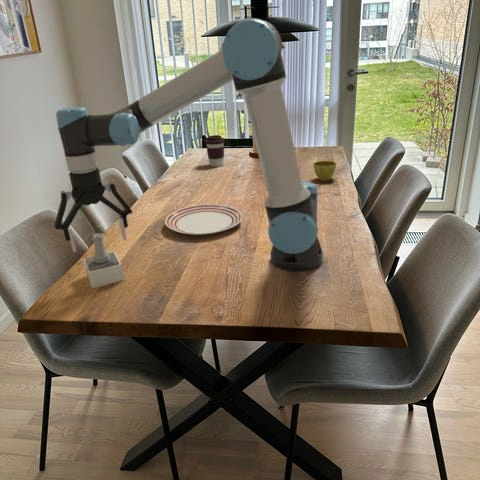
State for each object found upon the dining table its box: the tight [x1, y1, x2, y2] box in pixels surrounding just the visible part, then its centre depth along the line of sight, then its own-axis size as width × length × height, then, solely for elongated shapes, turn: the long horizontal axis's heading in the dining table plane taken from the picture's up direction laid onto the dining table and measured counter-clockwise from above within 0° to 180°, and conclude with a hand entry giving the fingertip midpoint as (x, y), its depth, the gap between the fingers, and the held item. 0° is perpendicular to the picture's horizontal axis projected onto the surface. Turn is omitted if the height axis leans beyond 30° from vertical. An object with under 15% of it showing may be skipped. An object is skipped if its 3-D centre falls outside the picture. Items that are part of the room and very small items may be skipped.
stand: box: [83, 252, 125, 289], centre depth 131 cm, size 9×9×5 cm
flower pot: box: [312, 160, 337, 182], centre depth 205 cm, size 10×10×7 cm
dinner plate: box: [164, 203, 243, 236], centre depth 164 cm, size 28×27×3 cm
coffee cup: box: [204, 134, 225, 168], centre depth 237 cm, size 10×10×15 cm
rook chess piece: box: [91, 232, 110, 264], centre depth 128 cm, size 4×4×8 cm
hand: (100, 244), depth 127 cm, fingers open, 13 cm apart
